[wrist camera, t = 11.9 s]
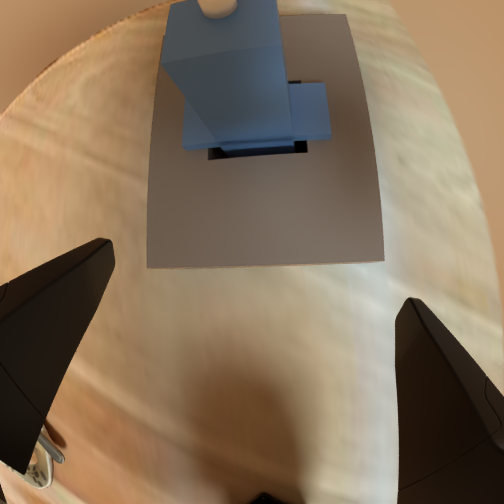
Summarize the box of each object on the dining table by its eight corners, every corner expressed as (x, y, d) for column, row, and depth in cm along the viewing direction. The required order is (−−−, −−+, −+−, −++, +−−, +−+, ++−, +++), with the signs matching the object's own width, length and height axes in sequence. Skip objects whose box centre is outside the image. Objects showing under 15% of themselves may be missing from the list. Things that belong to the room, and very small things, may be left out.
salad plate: (70, 390, 25) (38, 404, 20) (80, 509, 24) (60, 527, 20) (-30, 326, 28) (-56, 330, 23) (-17, 437, 28) (-37, 446, 23)
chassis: (370, 262, 21) (384, 260, 17) (172, 268, 23) (146, 268, 19) (342, 45, 22) (345, 14, 18) (180, 61, 24) (163, 35, 20)
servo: (326, 161, 22) (345, 29, 8) (205, 169, 23) (100, 68, 10) (322, 116, 22) (328, -29, 8) (206, 125, 23) (117, 7, 10)
